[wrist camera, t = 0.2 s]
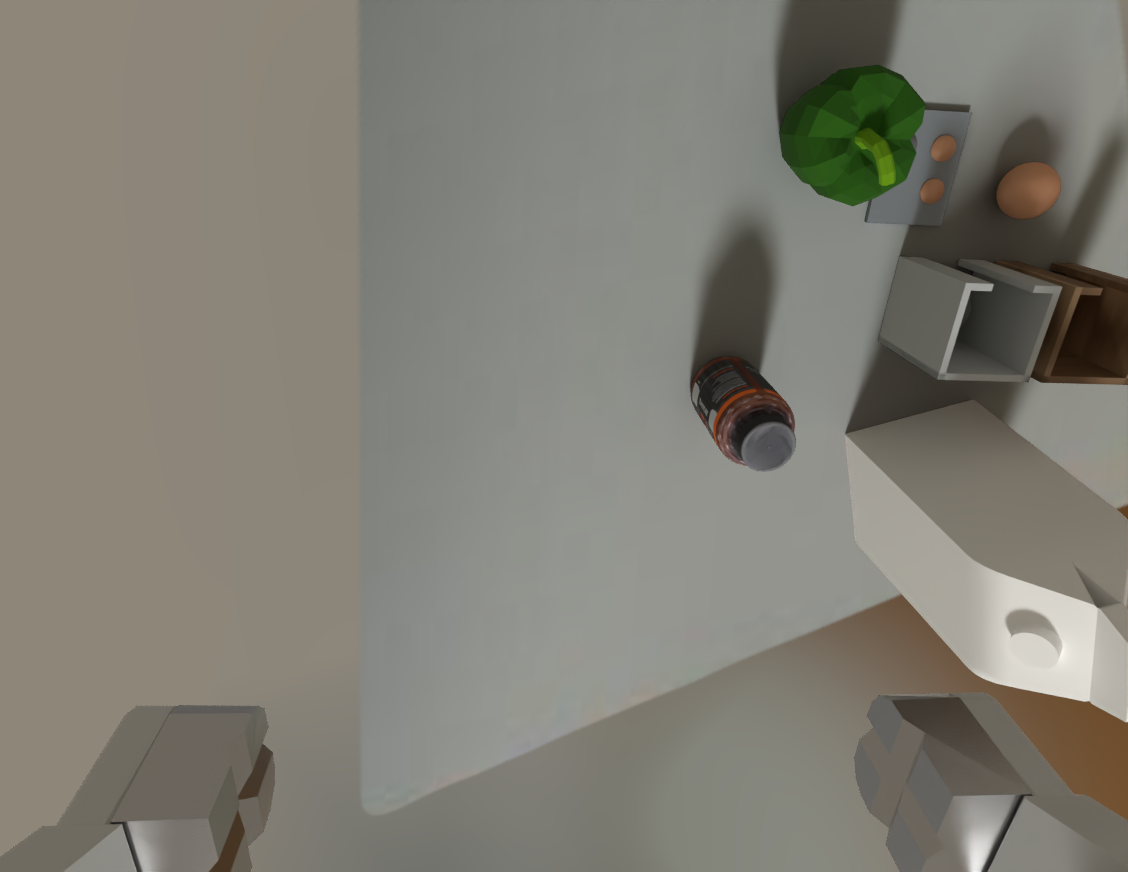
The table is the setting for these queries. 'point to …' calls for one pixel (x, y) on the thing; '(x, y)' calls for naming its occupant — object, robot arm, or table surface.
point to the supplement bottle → (744, 414)
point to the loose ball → (1028, 190)
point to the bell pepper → (853, 134)
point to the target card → (925, 173)
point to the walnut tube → (1083, 326)
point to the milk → (997, 551)
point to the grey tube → (991, 333)
